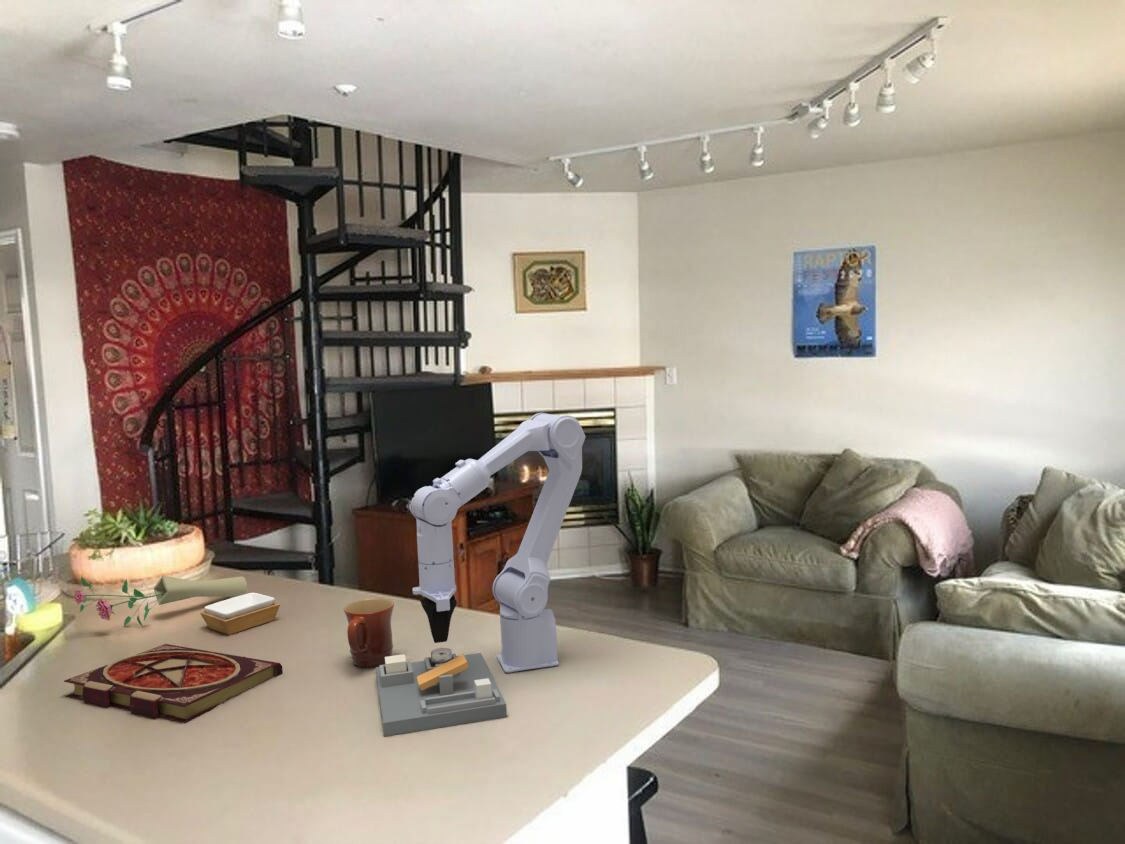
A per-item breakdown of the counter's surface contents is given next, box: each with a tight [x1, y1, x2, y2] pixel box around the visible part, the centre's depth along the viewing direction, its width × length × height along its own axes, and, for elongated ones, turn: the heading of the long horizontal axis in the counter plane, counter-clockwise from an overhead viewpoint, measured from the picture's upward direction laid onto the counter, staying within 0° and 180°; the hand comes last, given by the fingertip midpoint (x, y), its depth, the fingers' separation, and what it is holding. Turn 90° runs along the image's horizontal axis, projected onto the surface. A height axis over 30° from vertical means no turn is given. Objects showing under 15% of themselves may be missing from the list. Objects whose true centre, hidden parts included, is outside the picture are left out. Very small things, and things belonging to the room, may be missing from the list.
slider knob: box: [474, 678, 492, 700], centre depth 126 cm, size 2×2×3 cm
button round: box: [430, 647, 453, 666], centre depth 138 cm, size 3×3×2 cm
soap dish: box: [200, 592, 281, 636], centre depth 173 cm, size 12×10×5 cm
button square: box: [384, 654, 407, 674], centre depth 135 cm, size 3×3×2 cm
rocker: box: [417, 654, 469, 691], centre depth 131 cm, size 8×4×1 cm, turn 106°
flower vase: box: [73, 575, 248, 628], centre depth 179 cm, size 12×12×35 cm
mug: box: [343, 597, 395, 668], centre depth 147 cm, size 12×9×10 cm
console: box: [375, 652, 508, 737], centre depth 133 cm, size 18×22×5 cm
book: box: [63, 643, 284, 724], centre depth 142 cm, size 28×21×5 cm
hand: (440, 641), depth 137 cm, fingers closed
